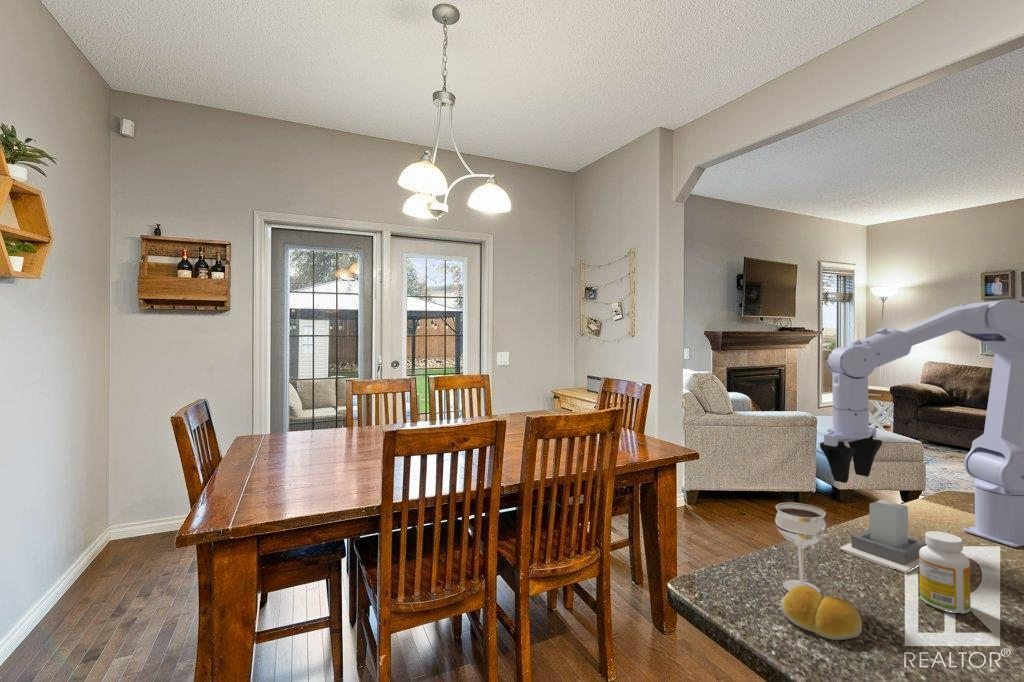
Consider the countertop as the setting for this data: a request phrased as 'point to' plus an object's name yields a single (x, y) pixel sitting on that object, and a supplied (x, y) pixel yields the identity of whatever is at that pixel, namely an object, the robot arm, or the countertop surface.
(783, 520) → the wineglass
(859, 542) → the dock
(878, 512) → the block
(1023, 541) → the robot arm
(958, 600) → the supplement bottle
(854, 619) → the bread roll
